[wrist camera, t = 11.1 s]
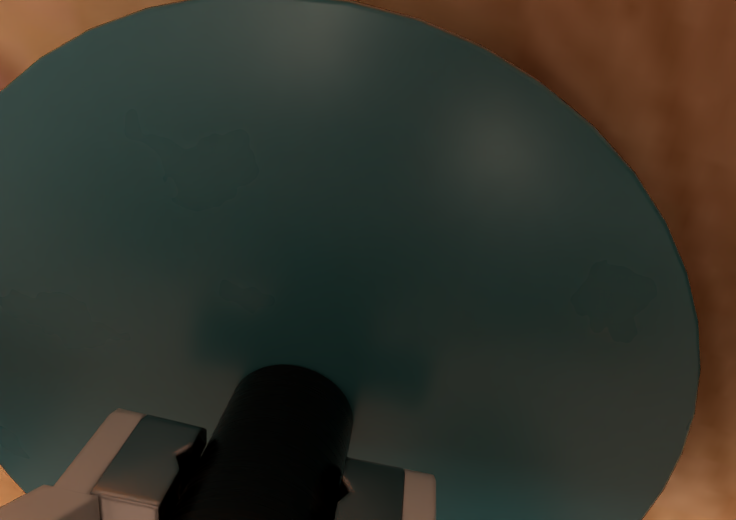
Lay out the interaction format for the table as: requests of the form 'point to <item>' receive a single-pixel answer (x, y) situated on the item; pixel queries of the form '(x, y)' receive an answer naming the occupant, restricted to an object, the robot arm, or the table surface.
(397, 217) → the lid
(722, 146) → the table surface
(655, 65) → the table surface
